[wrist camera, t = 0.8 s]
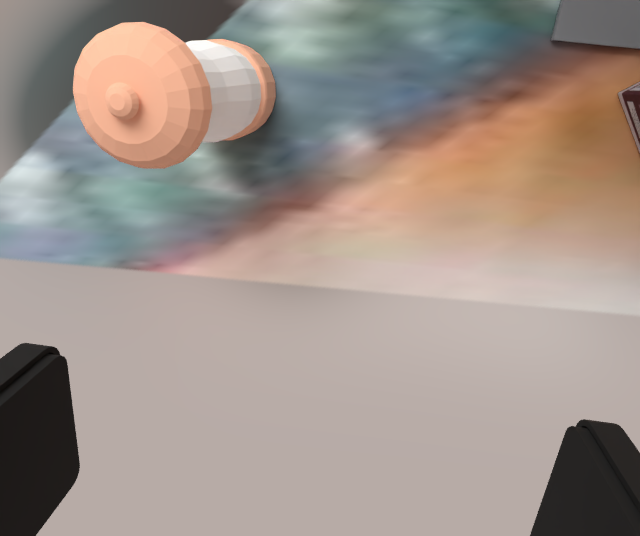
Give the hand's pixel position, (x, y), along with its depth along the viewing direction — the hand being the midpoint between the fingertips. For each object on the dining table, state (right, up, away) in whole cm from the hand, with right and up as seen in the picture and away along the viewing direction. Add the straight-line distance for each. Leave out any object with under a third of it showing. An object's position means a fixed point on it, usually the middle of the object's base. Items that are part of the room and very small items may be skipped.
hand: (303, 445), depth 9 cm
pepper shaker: (-7, +18, +31) cm, 36 cm away
